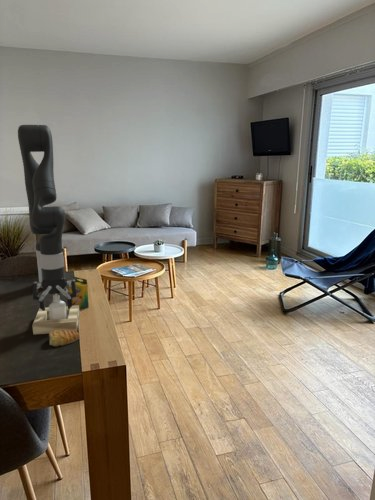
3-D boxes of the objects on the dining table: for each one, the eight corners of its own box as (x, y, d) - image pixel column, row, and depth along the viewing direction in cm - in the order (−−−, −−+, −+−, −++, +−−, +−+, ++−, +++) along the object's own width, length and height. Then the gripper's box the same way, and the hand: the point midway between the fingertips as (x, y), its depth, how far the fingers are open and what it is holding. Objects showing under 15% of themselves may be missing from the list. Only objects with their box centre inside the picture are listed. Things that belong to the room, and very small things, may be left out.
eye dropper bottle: (67, 325, 130) (64, 293, 127) (50, 327, 129) (47, 295, 126) (67, 319, 134) (64, 289, 131) (50, 321, 133) (47, 290, 130)
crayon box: (69, 305, 147) (67, 278, 144) (75, 303, 149) (73, 275, 146) (83, 309, 143) (82, 281, 140) (89, 306, 146) (87, 279, 143)
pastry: (77, 333, 125) (76, 323, 124) (81, 342, 119) (80, 332, 118) (48, 339, 121) (47, 328, 120) (50, 349, 115) (49, 338, 114)
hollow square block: (40, 316, 137) (39, 308, 136) (79, 313, 140) (78, 305, 139) (33, 334, 124) (32, 325, 123) (76, 330, 126) (76, 321, 125)
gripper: (75, 261, 131) (78, 303, 135) (32, 263, 128) (37, 306, 132) (73, 267, 124) (76, 311, 128) (28, 269, 121) (33, 315, 125)
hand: (56, 309), depth 130 cm, fingers open, 8 cm apart
